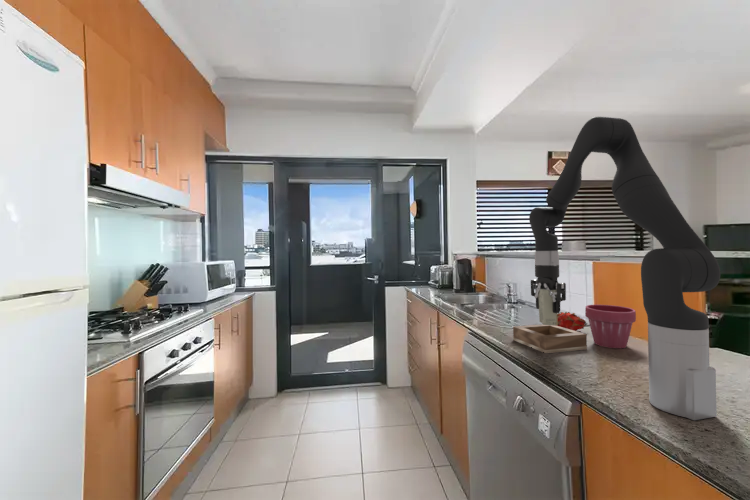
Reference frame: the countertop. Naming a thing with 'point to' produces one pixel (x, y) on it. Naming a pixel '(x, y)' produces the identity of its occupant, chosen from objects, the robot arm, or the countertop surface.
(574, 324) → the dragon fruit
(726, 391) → the countertop surface
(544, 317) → the skincare box
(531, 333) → the socket block
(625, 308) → the plant pot
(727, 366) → the countertop surface
